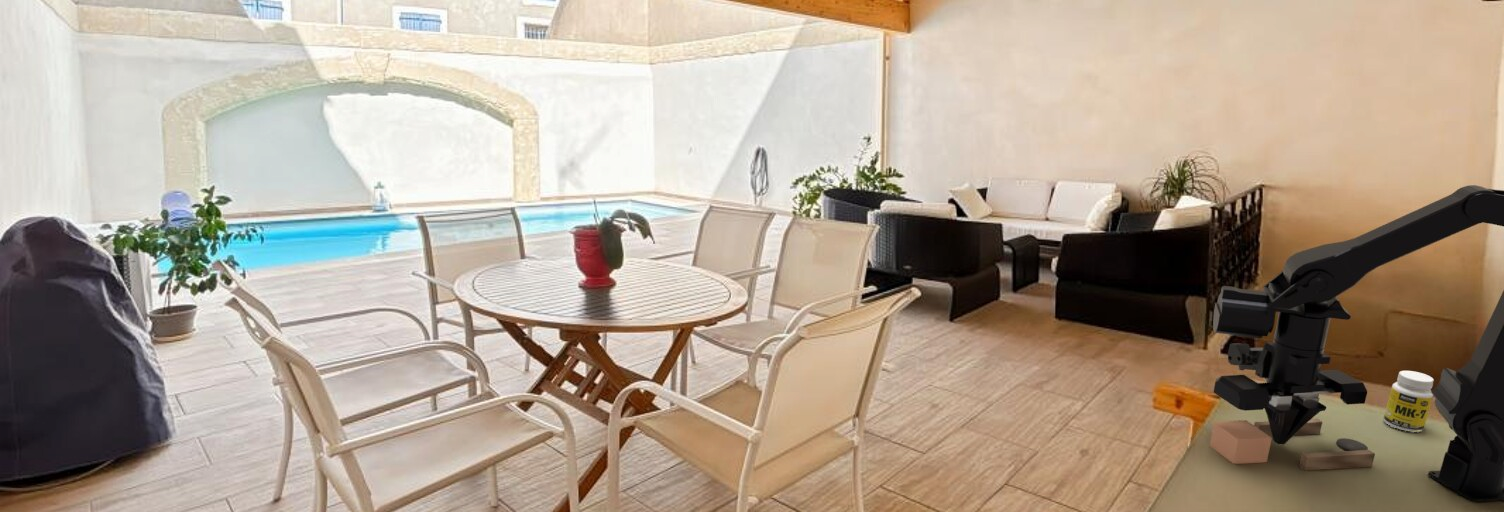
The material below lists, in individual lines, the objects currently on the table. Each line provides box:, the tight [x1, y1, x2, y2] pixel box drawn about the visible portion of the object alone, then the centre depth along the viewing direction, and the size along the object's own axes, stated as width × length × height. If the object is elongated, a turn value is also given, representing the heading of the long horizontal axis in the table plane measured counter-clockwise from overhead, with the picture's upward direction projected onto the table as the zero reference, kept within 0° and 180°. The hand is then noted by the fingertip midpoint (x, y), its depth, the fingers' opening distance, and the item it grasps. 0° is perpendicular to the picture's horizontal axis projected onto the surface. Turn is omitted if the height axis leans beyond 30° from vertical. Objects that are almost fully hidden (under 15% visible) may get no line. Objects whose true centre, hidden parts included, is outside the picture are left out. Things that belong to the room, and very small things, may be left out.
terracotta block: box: [1209, 419, 1273, 465], centre depth 107 cm, size 5×5×4 cm
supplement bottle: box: [1383, 370, 1435, 432], centre depth 114 cm, size 5×5×8 cm
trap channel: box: [1253, 418, 1376, 471], centre depth 109 cm, size 13×10×2 cm
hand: (1278, 443), depth 108 cm, fingers closed
